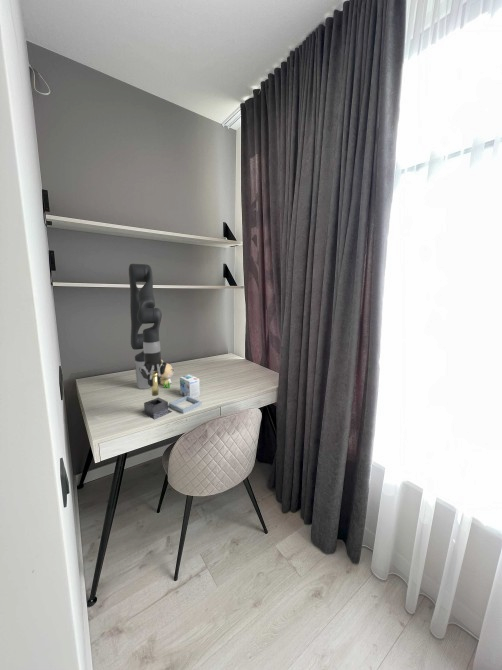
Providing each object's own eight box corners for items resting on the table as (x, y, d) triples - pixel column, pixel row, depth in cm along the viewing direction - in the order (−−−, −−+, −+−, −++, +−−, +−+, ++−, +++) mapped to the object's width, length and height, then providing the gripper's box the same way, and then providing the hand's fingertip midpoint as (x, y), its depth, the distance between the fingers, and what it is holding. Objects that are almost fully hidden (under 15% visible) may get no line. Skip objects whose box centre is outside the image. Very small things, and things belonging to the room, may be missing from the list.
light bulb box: (180, 394, 156) (179, 376, 154) (190, 391, 161) (189, 373, 159) (190, 400, 149) (189, 381, 146) (200, 396, 153) (199, 378, 151)
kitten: (176, 387, 167) (175, 363, 163) (159, 390, 162) (158, 366, 159) (171, 379, 180) (170, 357, 176) (156, 381, 175) (154, 359, 172)
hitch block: (140, 413, 134) (139, 402, 133) (158, 406, 141) (158, 395, 140) (154, 421, 126) (153, 409, 125) (172, 413, 134) (171, 402, 133)
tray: (169, 408, 139) (169, 403, 139) (187, 400, 148) (187, 395, 148) (183, 415, 132) (183, 409, 132) (201, 406, 141) (201, 401, 140)
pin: (149, 394, 132) (147, 373, 129) (156, 392, 135) (155, 371, 133) (153, 397, 129) (152, 375, 127) (161, 394, 132) (160, 373, 130)
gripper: (160, 346, 135) (162, 378, 139) (133, 352, 124) (136, 387, 128) (169, 348, 130) (171, 382, 134) (142, 355, 120) (145, 391, 123)
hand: (154, 384), depth 131 cm, fingers closed on pin, 3 cm apart
